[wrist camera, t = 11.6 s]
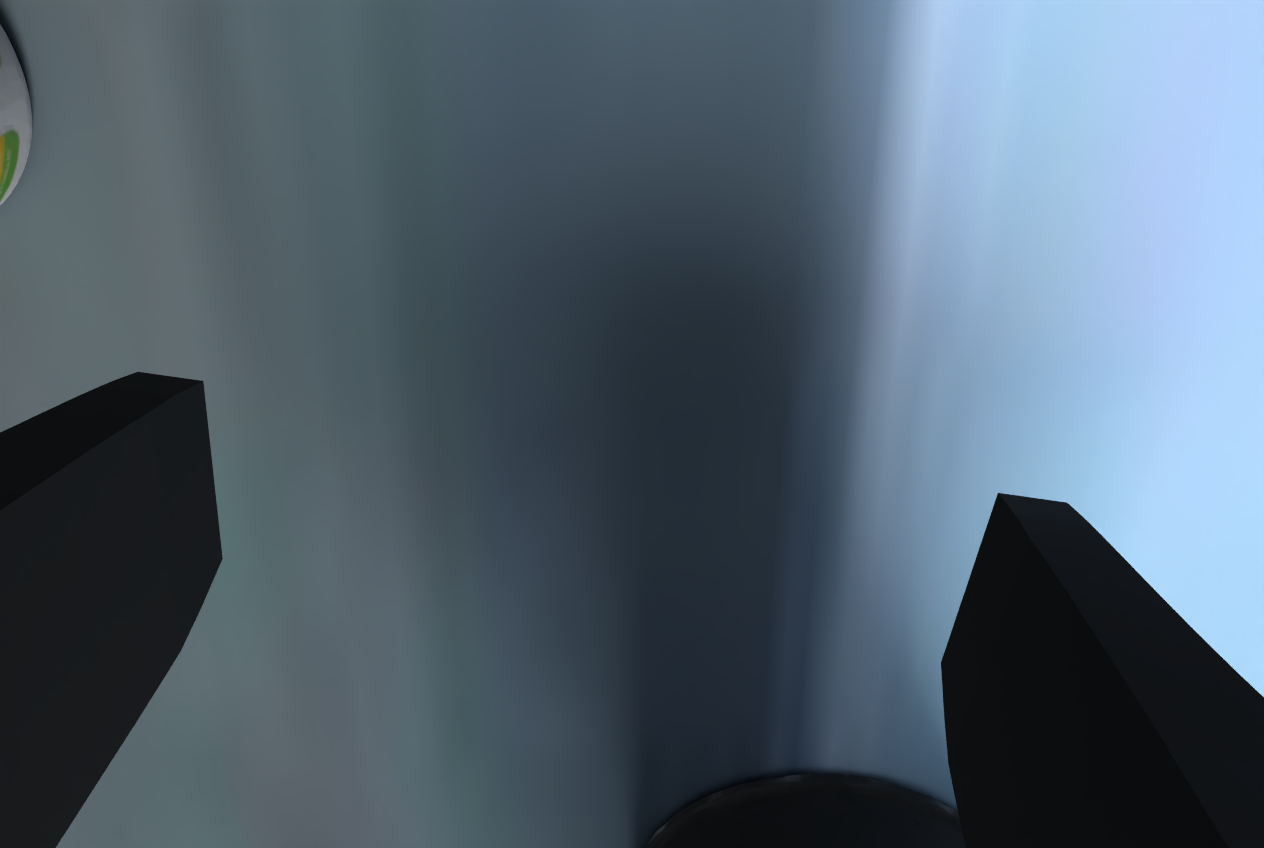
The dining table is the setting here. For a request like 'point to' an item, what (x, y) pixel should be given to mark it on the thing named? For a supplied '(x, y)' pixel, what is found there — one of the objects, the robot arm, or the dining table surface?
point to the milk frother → (813, 816)
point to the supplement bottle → (12, 119)
